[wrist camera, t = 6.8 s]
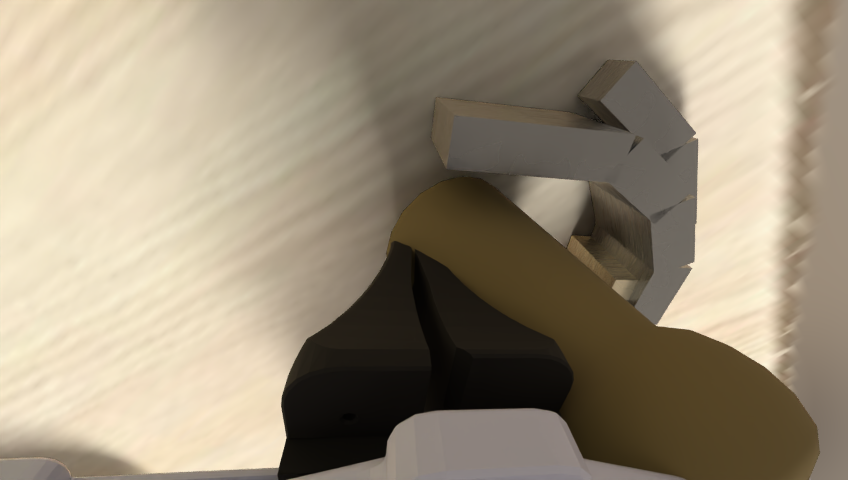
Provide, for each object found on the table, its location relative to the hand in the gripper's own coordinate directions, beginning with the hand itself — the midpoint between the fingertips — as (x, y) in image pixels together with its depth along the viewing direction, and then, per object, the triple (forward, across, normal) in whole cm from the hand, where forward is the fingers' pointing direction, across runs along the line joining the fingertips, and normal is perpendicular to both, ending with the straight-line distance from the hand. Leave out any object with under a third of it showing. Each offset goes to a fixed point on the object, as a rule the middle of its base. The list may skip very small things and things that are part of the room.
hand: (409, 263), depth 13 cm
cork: (+2, -2, 0) cm, 2 cm away
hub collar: (+2, -7, 0) cm, 7 cm away
